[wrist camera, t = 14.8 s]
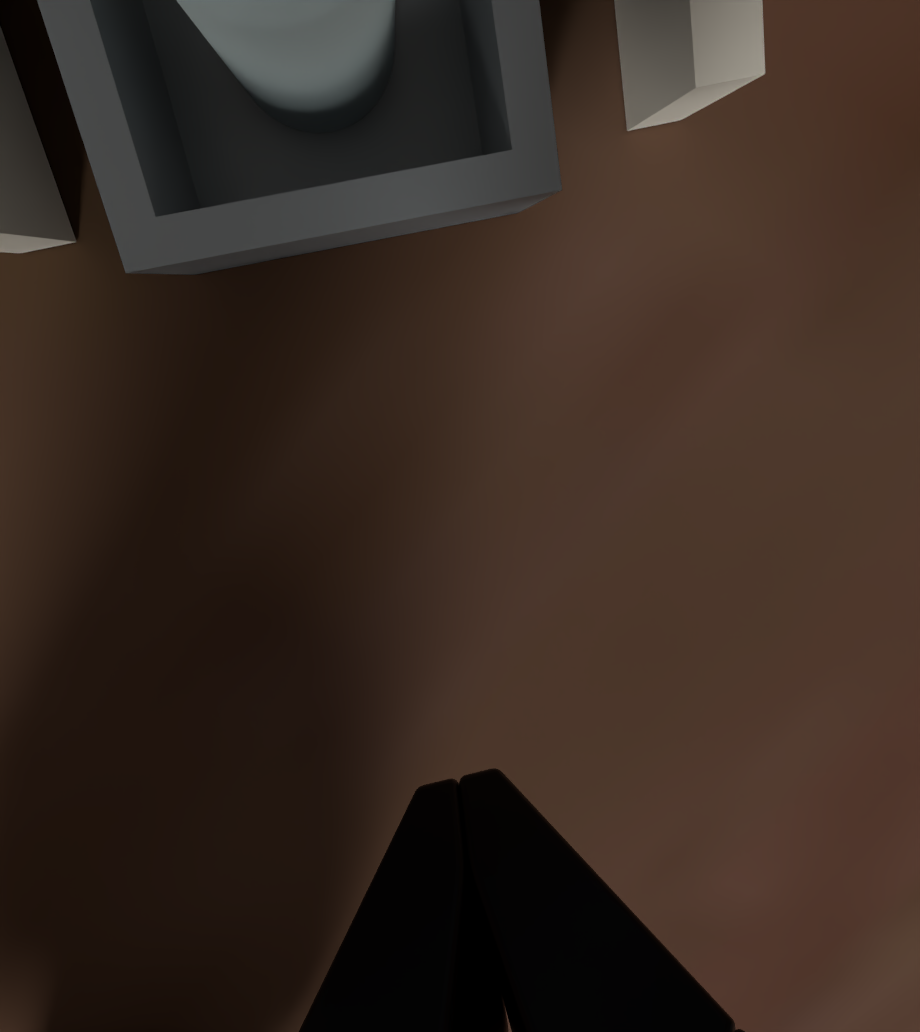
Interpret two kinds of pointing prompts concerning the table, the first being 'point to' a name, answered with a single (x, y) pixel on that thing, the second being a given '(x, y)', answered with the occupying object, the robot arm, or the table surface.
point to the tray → (292, 185)
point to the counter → (645, 78)
